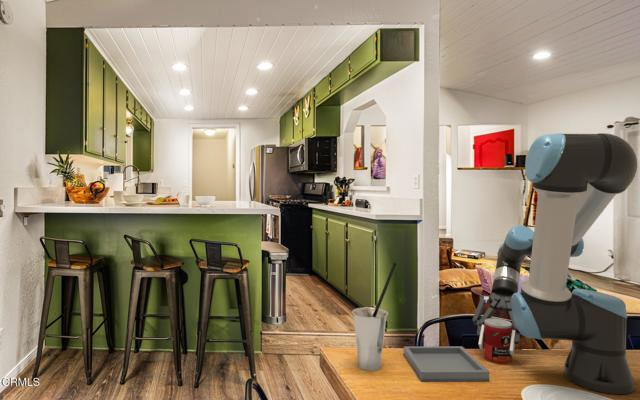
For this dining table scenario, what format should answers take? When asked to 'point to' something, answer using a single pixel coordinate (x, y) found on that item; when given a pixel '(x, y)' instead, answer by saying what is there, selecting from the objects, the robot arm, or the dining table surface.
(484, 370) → the tray
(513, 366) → the dining table surface
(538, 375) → the dining table surface
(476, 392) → the dining table surface
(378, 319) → the glass
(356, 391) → the dining table surface
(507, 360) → the canned food
